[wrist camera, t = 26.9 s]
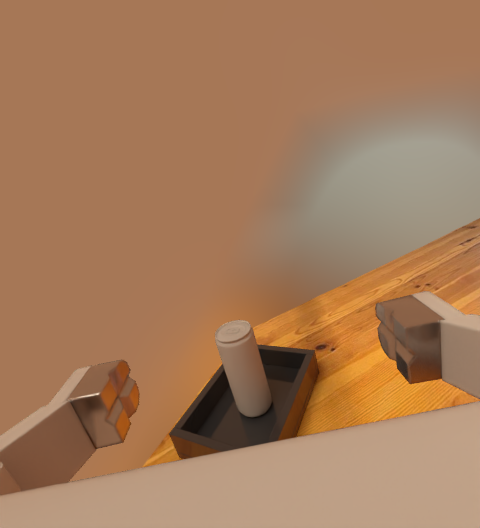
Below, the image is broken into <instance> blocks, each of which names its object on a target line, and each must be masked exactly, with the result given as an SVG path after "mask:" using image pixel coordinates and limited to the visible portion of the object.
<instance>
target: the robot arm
mask: <svg viewBox="0 0 480 528" xmlns="http://www.w3.org/2000/svg"><path fill="white" fill-rule="evenodd" d="M375 310H376V316H377V318H378V319H379V320H380V321H381V323H380V325H379V327H378V328H377V329H378V336H379V340H380V343H381V346H382V348H383V350H384V352H385V353H386V355H387V356H388V357H389V358H390V359H392V360H395V361H396V362H397V369H398V370H399V371H400V372H401V374H402V375H403V376H404V377H405V379H406V380H407V381H408V382H409V384H414V383H420V382H426V381H431V380H437V379H442V380H443V381H445V382H447V383H449V384H451V385H453V386H455V387H457V388H459V389H461V390H463V391H465V392H467V393H469V394H470V395H472V396H474V397H476V398H478V399H480V315H475V314H469V315H465V314H463V313H462V312H460V311H459V310H457V309H456V308H454V307H453V306H451V305H450V304H448V303H447V302H445V301H443V300H442V299H440V298H439V297H437V296H436V295H434V294H433V293H431V292H429V291H423V292H420V293H416V294H412V295H408V296H404V297H400V298H396V299H392V300H388V301H384V302H380V303H377V304H376V308H375ZM129 373H130V368H129V366H128V364H127V362H126V361H124V360H117V361H113V362H108V363H103V364H98V365H94V366H88V367H83V368H80V369H77V370H75V371H74V373H73V374H72V375H71V376H70V378H69V379H68V380H67V381H66V383H65V384H64V385H63V387H62V388H61V389H60V390H59V392H58V393H57V394H56V395H55V397H54V398H53V399H52V401H51V402H50V403H49V404H48V405H47V406H43V407H41V408H40V409H38V410H37V411H35V412H34V413H33V414H31V415H30V416H28V417H27V418H25V419H24V420H22V421H21V422H20V423H18V424H17V425H15V426H14V427H12V428H11V429H10V430H8V431H7V432H5V433H4V434H2V435H1V436H0V528H480V401H478V402H473V403H468V404H463V405H458V406H453V407H447V408H442V409H437V410H432V411H427V412H422V413H417V414H412V415H407V416H402V417H397V418H392V419H387V420H381V421H376V422H371V423H366V424H361V425H356V426H351V427H346V428H341V429H336V430H331V431H326V432H321V433H315V434H310V435H305V436H300V437H295V438H290V439H285V440H280V441H275V442H270V443H265V444H260V445H255V446H250V447H245V448H239V449H234V450H229V451H224V452H219V453H214V454H209V455H204V456H199V457H194V458H189V459H184V460H178V461H173V462H168V463H163V464H158V465H153V466H148V467H143V468H138V469H133V470H128V471H122V472H117V473H113V474H107V475H102V476H97V477H92V478H87V479H82V480H77V481H72V482H69V481H70V479H71V478H72V477H73V476H74V475H75V474H76V473H77V471H78V470H79V469H80V468H81V467H82V466H83V465H84V463H85V462H86V461H87V460H88V459H89V458H90V457H91V456H92V454H93V453H94V452H95V451H96V449H98V448H102V447H107V446H111V445H114V444H119V443H123V442H124V440H125V437H126V435H127V432H128V430H129V428H130V425H131V422H130V420H129V418H130V417H131V416H132V415H133V414H134V413H135V412H136V410H137V408H138V405H139V390H138V386H137V384H136V381H135V380H133V379H131V378H130V377H129Z"/></svg>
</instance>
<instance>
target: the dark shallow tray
mask: <svg viewBox="0 0 480 528" xmlns="http://www.w3.org/2000/svg"><path fill="white" fill-rule="evenodd" d="M257 346H258V350H259V354H260V357H261V361H262V364H263V368H264V372H265V375H266V379H267V383H268V386H269V390H270V393H271V397H272V403H271V406H270V407H269V409H268V410H267V412H265V413H264V414H263V415H261V416H259V417H253V418H252V417H247V416H245V415H243V414H242V413H241V412H240V411H239V410H238V408H237V405H236V402H235V399H234V396H233V393H232V390H231V387H230V384H229V381H228V378H227V375H226V372H225V369H224V366H223V364H222V365H221V366H220V368H219V369H218V370H217V372H216V373H215V374H214V376H213V377H212V378H211V380H210V381H209V382H208V384H207V385H206V386H205V387H204V389H203V390H202V391H201V393H200V394H199V395H198V397H197V398H196V399H195V401H194V402H193V403H192V404H191V406H190V407H189V408H188V410H187V411H186V412H185V414H184V415H183V416H182V418H181V419H180V420H179V421H178V423H177V424H176V425H175V427H174V428H173V429H172V431H171V432H170V433H169V435H170V437H171V439H172V441H173V444H174V446H175V448H176V451H177V453H178V455H179V457H180V458H182V459H189V458H194V457H199V456H204V455H209V454H214V453H219V452H224V451H229V450H234V449H239V448H245V447H250V446H255V445H260V444H265V443H270V442H275V441H280V440H285V439H290V438H295V437H296V435H297V432H298V429H299V427H300V424H301V421H302V418H303V416H304V413H305V410H306V407H307V404H308V402H309V399H310V396H311V393H312V391H313V388H314V385H315V382H316V380H317V377H318V374H319V369H318V364H317V359H316V354H315V350H307V349H297V348H287V347H277V346H267V345H257Z"/></svg>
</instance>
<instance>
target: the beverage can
mask: <svg viewBox="0 0 480 528" xmlns="http://www.w3.org/2000/svg"><path fill="white" fill-rule="evenodd" d="M215 339H216V345H217V348H218V350H219V354H220V356H221V360H222V363H223V366H224V369H225V372H226V375H227V378H228V381H229V384H230V387H231V390H232V393H233V396H234V399H235V402H236V405H237V408H238V410H239V411H240V412H241V413H242V414H243V415H245V416H247V417H252V418H253V417H259V416H261V415H263V414H264V413H265V412H267V410H268V409H269V407H270V406H271V403H272V397H271V393H270V390H269V386H268V383H267V379H266V375H265V372H264V368H263V364H262V361H261V357H260V354H259V350H258V346H257V343H256V339H255V336H254V332H253V329H252V328H251V325H250V323H249V322H247V321H244V320H236V321H231V322H228V323H226V324H224V325H222V326H221V327H220V328H218V329H217V331H216V333H215Z"/></svg>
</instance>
